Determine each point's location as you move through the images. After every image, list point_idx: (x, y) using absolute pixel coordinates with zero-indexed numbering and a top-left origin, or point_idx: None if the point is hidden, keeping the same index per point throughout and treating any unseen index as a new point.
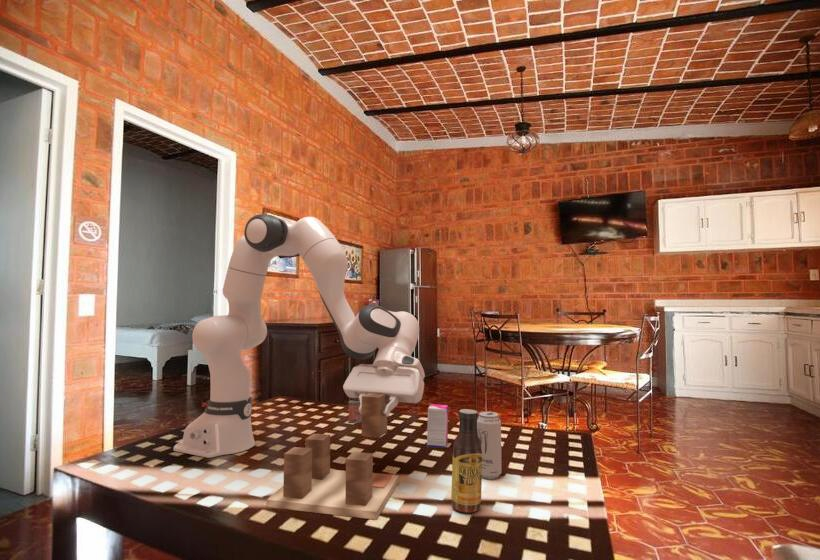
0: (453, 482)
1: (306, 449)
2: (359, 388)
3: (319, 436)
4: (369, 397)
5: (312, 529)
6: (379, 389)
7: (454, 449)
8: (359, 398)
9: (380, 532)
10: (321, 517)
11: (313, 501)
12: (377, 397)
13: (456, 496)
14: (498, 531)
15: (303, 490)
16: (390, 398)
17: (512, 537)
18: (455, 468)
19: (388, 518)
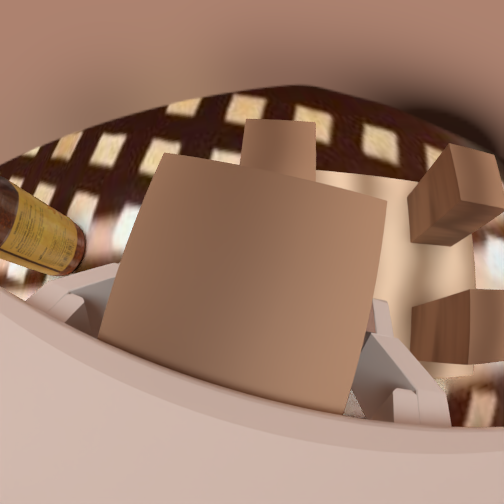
0: (54, 216)
1: (469, 188)
2: (493, 446)
3: (493, 332)
4: (279, 178)
5: (338, 131)
6: (164, 401)
7: (5, 192)
8: (432, 378)
9: (214, 138)
10: (343, 167)
11: (379, 189)
12: (176, 154)
13: (66, 217)
14: (44, 185)
15: (413, 194)
16: (72, 302)
17: (35, 175)
18: (32, 199)
19: None
